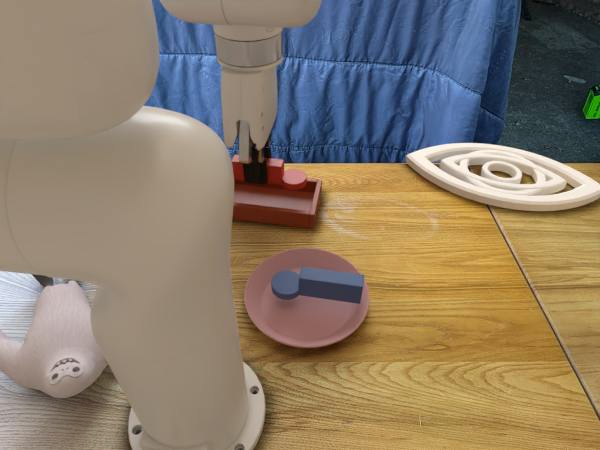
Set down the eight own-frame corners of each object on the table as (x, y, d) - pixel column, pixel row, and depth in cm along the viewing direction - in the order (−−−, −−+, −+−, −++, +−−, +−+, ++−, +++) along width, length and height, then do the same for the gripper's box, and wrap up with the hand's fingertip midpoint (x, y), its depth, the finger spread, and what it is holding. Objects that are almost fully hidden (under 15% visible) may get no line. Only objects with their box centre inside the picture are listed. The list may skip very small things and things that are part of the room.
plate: (258, 371, 46) (257, 361, 44) (236, 270, 56) (234, 259, 55) (387, 340, 49) (390, 329, 47) (343, 249, 59) (344, 238, 57)
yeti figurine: (125, 213, 56) (193, 318, 43) (135, 253, 60) (200, 360, 47) (-65, 273, 46) (-50, 429, 34) (-38, 315, 50) (-15, 469, 38)
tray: (321, 193, 67) (322, 179, 66) (313, 229, 62) (314, 215, 60) (231, 183, 69) (230, 169, 67) (216, 217, 63) (214, 202, 61)
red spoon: (308, 175, 63) (308, 158, 61) (304, 191, 61) (304, 173, 59) (238, 167, 64) (236, 150, 62) (231, 183, 62) (228, 165, 60)
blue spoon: (268, 297, 50) (267, 280, 48) (274, 273, 53) (274, 256, 51) (359, 310, 49) (362, 293, 47) (361, 285, 52) (364, 268, 50)
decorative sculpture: (405, 143, 78) (407, 135, 77) (581, 158, 75) (586, 150, 74) (409, 197, 67) (411, 189, 66) (615, 217, 64) (621, 208, 63)
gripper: (236, 18, 56) (246, 143, 69) (193, 73, 45) (215, 210, 57) (294, 23, 55) (294, 148, 68) (266, 79, 44) (272, 217, 56)
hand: (258, 176), depth 62 cm, fingers closed on red spoon
